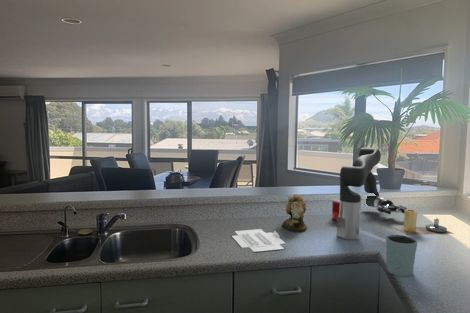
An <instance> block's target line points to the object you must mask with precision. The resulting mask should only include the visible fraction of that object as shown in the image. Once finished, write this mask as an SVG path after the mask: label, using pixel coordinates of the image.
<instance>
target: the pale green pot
mask: <svg viewBox="0 0 470 313" xmlns="http://www.w3.org/2000/svg"><path fill="white" fill-rule="evenodd" d="M385 237H386V238H385V243H386V244H385V245H386V246H385V247H386V253H385V254H386V256H385V257H386V270H387V272H388V273H390V274H392V275H394V276H398V277H411V276H412V275H413V274H414V264H415V260H416V253H417V252H416V251H417V246H418V240H417V239H416V238H413V237H412V236H411V237H410V236H409V235H403V234H402V235H401V234H390V235H386V236H385Z"/></svg>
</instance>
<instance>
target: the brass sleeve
mask: <svg viewBox="0 0 470 313" xmlns="http://www.w3.org/2000/svg"><path fill="white" fill-rule="evenodd" d="M403 214H404V215H403V216H404V217H403V227H404V228H403V230H404V231H406V232H411V233H414V232H416V227H417V221H418V220H417V216H418V211H417V210H415V209H411V208H410V209H409V208H407V209H406V210H405V212H404V213H403Z"/></svg>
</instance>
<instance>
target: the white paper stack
mask: <svg viewBox="0 0 470 313" xmlns="http://www.w3.org/2000/svg"><path fill="white" fill-rule="evenodd" d="M234 233H235V234H236V235H231V237H232V238H233V239H234V240H235V242H236V243H237V244H238V245H239V246H240V247H241V249H245V248H246V249H248V248H249V249H250V250H251V251H252V252H253V253H255V252H265V251H266V252H267V251H275V250H285V248H284V247H283V246H282V245H286V244H287V242H285V241H284V240H283V239H281V238H280V235H279V233H278V232H277V231H276V230H274V231H273V232H265V231H264V230H263V229H262V228H259V229H258V228H257V229H245V230H235V231H234Z"/></svg>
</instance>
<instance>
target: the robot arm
mask: <svg viewBox="0 0 470 313" xmlns="http://www.w3.org/2000/svg"><path fill="white" fill-rule="evenodd" d="M381 155H382V154H381V150H380V149H378V148H376V147H361V148H360V149H359V152H358V157H357V158H356V159H355V160H354V161H353V164H352V166H351V165H343V166H342V167H341V168H340V171H339V199H340V207H339V216H337V221H336V236H337V237H339V238H341V239H343V240H358V239H359V237H360V222H361V204H362V202H361V201H362V196H361V194H359V193H357V192H355V191H353V190H352V189H351V188H350V187H355V188H358V187H359V188H360V187H362V186H363V189H364V190H363V191H364V192H365V193H366V194H367V193H374V194H375V195H376V196H367V199H366V204H367V205H368V206H367V207H370V208H371V207H372V208H376V211H378V212H379V213H384V214H388V215H391V214H392V213H398V214H399V213H402V214H404V212H405V210H406V209H408V207H406V206H403V205H395V204H394V203H393V201H392V200H390V199H388V198H386V197H382V196H379V195H380V194H379V191H378V188H377V187H378V186H377V185H378V184H377V178H376V176H375V175H374V173H373V172H372V170H373V169H374V168H375V167H376V166H377V165H378V164H379V162H380V161H381V157H382V156H381Z"/></svg>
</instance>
